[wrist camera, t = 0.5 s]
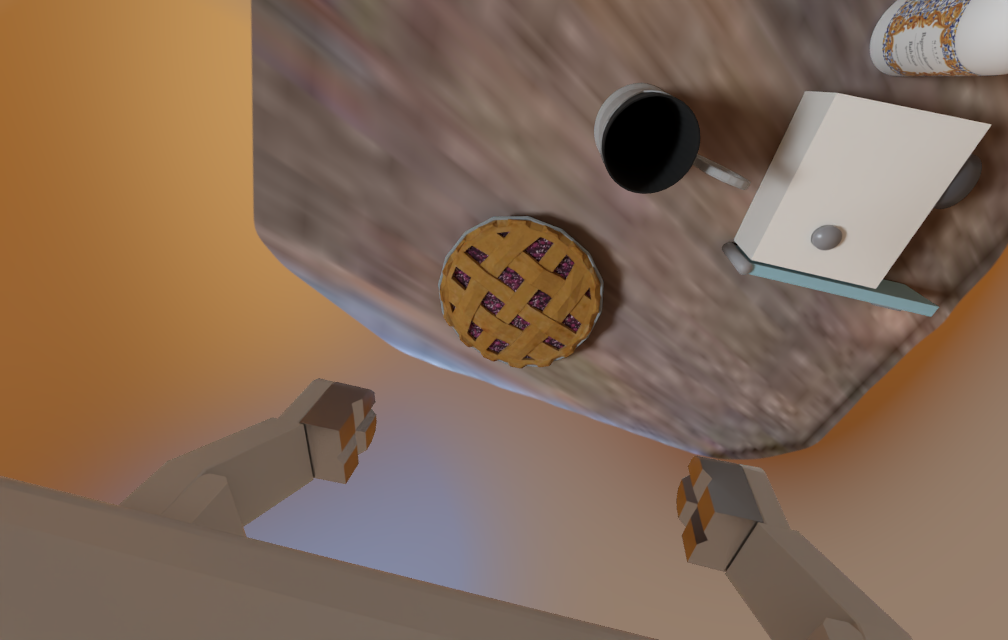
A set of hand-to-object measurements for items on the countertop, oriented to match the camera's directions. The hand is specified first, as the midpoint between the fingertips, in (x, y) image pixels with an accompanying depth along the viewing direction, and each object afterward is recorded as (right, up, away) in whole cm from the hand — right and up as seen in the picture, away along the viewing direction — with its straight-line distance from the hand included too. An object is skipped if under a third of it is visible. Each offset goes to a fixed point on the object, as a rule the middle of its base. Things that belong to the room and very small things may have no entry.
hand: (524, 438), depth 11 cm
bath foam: (+37, +30, +29) cm, 56 cm away
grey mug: (+16, +23, +37) cm, 46 cm away
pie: (+2, +8, +49) cm, 49 cm away
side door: (+36, +9, +40) cm, 55 cm away
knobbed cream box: (+36, +17, +36) cm, 54 cm away
